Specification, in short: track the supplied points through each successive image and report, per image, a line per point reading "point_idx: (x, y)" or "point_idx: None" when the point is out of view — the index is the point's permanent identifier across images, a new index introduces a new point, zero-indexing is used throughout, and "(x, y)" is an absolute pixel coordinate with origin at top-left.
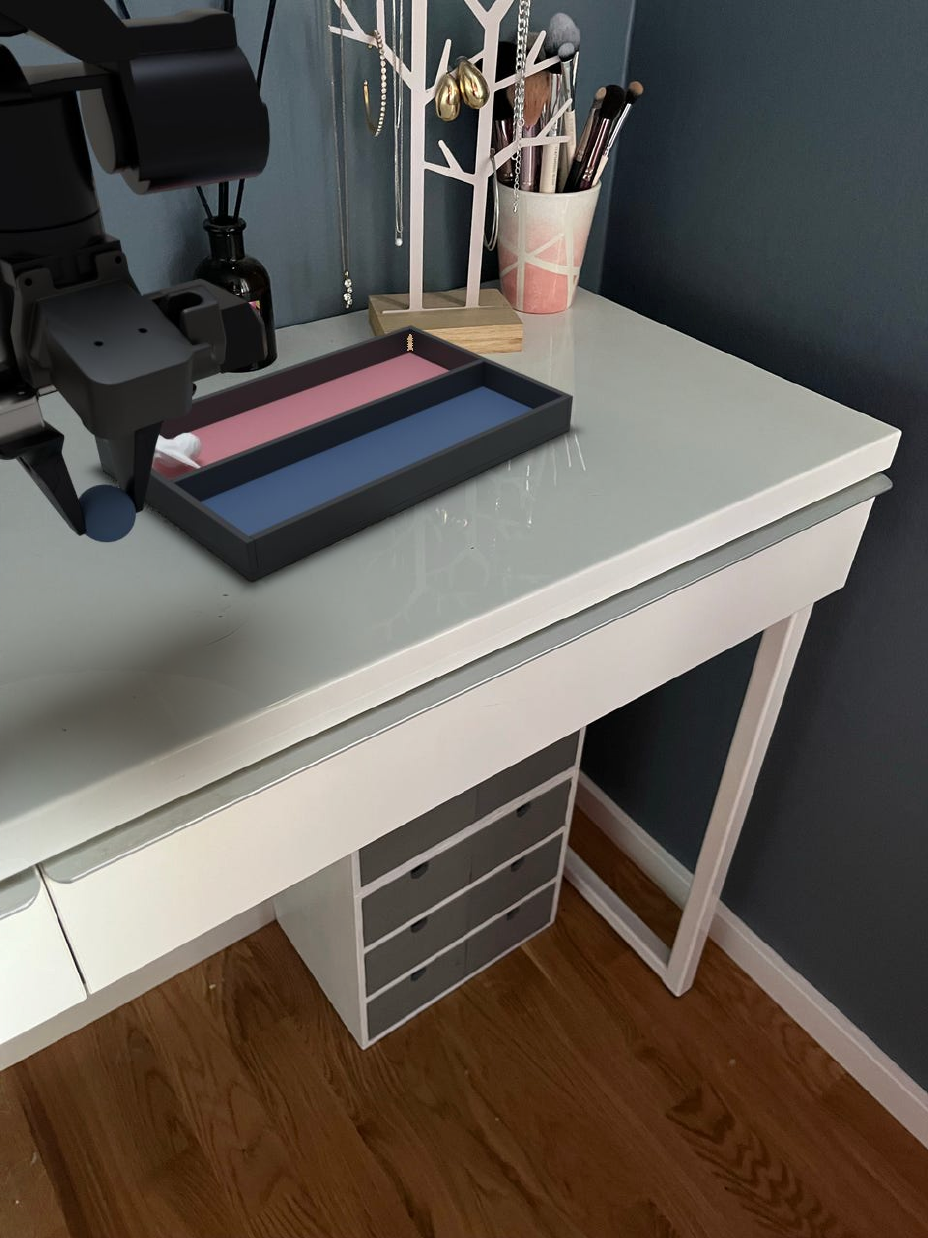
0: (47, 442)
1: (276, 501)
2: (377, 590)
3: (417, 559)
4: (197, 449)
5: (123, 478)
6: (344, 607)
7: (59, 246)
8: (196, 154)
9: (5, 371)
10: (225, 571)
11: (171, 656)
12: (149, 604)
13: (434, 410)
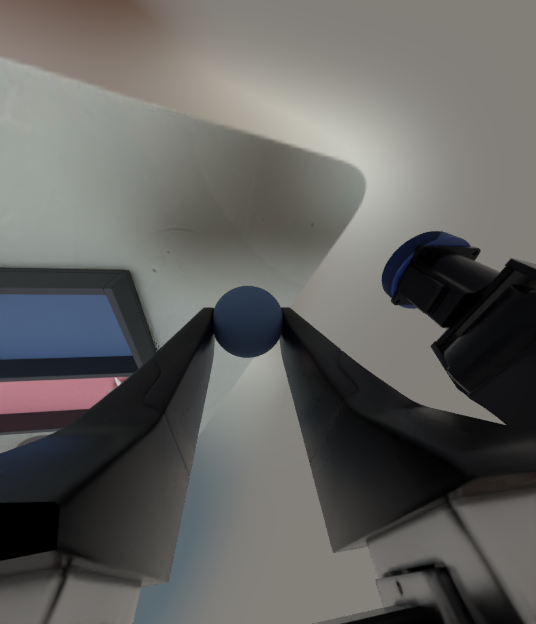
0: (525, 461)
1: (72, 330)
2: (7, 179)
3: None
4: (109, 392)
5: (210, 350)
6: (55, 183)
7: None
8: None
9: None
10: (143, 292)
11: (220, 238)
12: (205, 294)
13: None
